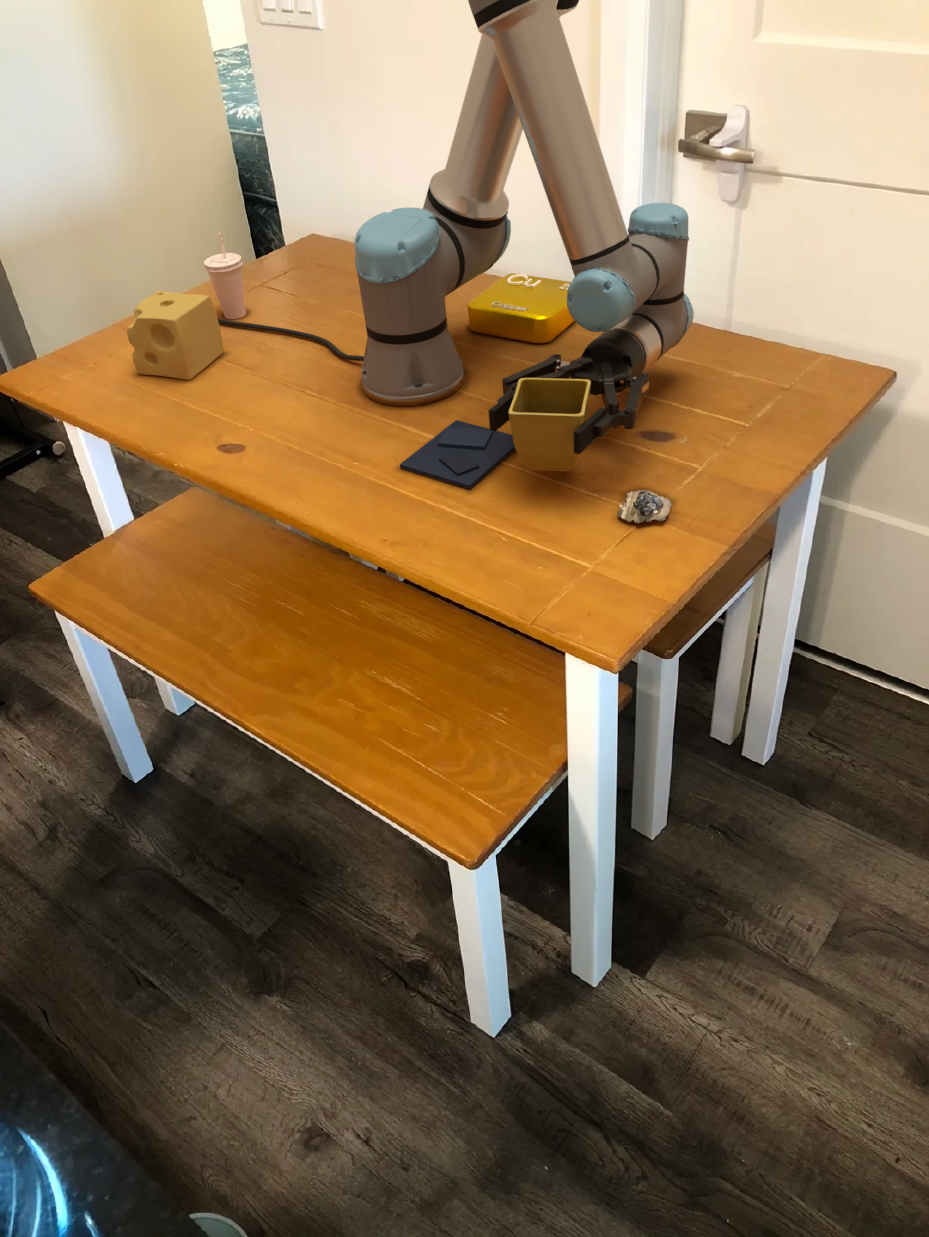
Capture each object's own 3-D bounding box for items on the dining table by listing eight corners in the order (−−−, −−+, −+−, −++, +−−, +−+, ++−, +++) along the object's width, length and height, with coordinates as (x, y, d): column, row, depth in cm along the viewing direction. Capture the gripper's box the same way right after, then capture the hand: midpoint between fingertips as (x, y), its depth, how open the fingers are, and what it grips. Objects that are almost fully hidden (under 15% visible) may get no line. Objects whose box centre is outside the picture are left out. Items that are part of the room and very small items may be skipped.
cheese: (136, 375, 156) (117, 314, 150) (175, 346, 163) (159, 287, 157) (191, 382, 153) (174, 320, 146) (229, 352, 160) (214, 292, 154)
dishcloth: (400, 468, 128) (399, 460, 127) (456, 424, 136) (455, 416, 135) (470, 490, 123) (469, 481, 122) (524, 442, 131) (524, 434, 130)
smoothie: (250, 321, 169) (231, 239, 160) (213, 323, 169) (192, 241, 160) (256, 306, 174) (238, 225, 165) (221, 308, 174) (201, 228, 165)
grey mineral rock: (620, 530, 114) (620, 516, 113) (609, 492, 120) (609, 479, 119) (678, 524, 114) (679, 511, 113) (664, 487, 120) (665, 474, 119)
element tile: (464, 331, 159) (462, 302, 156) (510, 296, 169) (508, 268, 165) (546, 346, 153) (545, 317, 149) (589, 309, 162) (589, 280, 159)
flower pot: (583, 482, 117) (583, 414, 111) (510, 479, 119) (507, 412, 113) (590, 444, 124) (591, 378, 118) (522, 442, 126) (519, 377, 120)
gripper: (702, 400, 125) (622, 484, 112) (544, 365, 136) (454, 437, 123) (707, 345, 120) (624, 425, 107) (542, 313, 131) (448, 382, 118)
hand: (533, 431), depth 115 cm, fingers closed on flower pot, 11 cm apart
